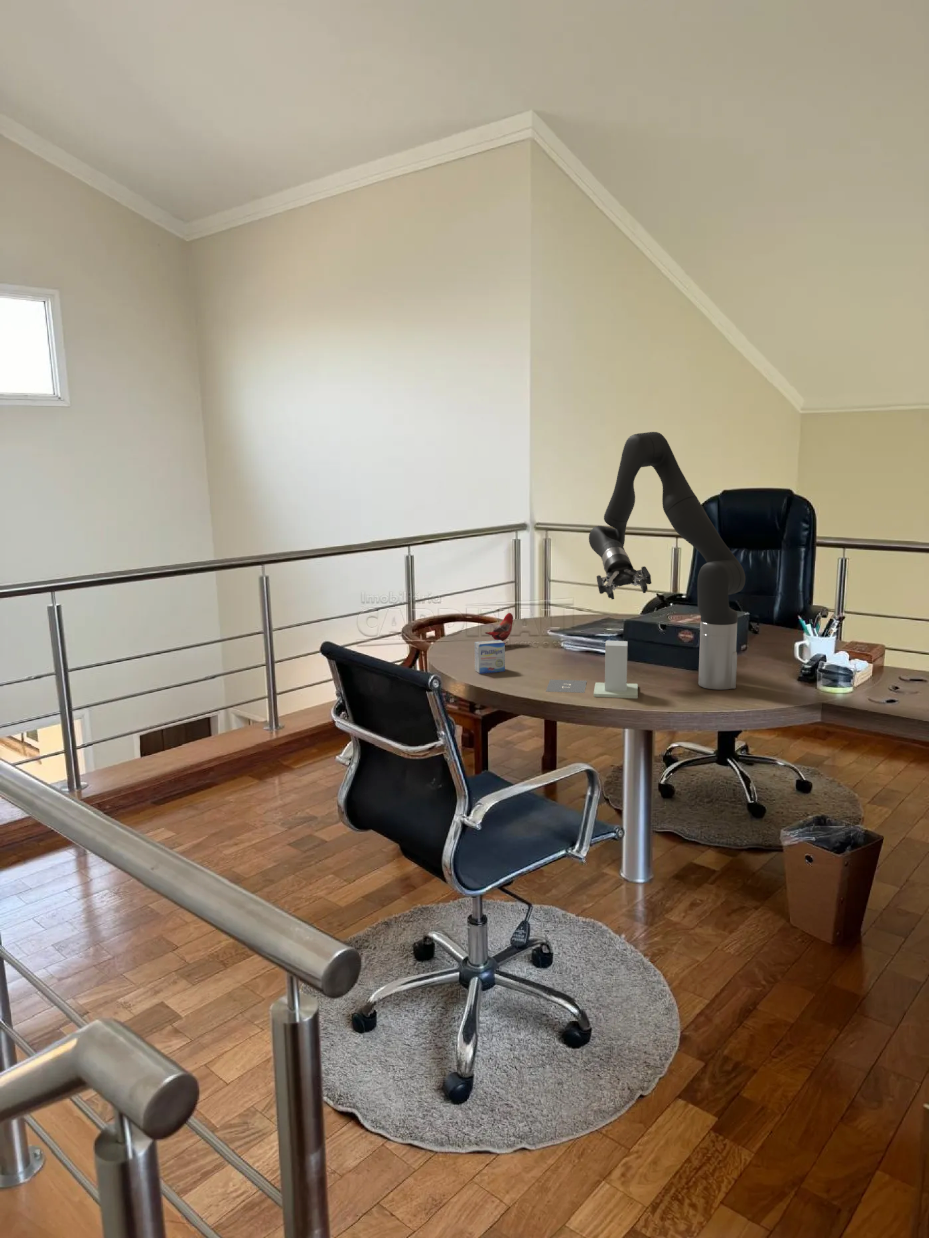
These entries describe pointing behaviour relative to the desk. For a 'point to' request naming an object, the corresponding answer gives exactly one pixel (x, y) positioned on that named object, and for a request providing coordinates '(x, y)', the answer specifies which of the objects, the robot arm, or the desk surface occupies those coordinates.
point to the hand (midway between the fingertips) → (628, 593)
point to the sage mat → (631, 691)
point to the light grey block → (616, 666)
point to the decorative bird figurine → (503, 628)
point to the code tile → (566, 686)
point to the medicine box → (489, 656)
